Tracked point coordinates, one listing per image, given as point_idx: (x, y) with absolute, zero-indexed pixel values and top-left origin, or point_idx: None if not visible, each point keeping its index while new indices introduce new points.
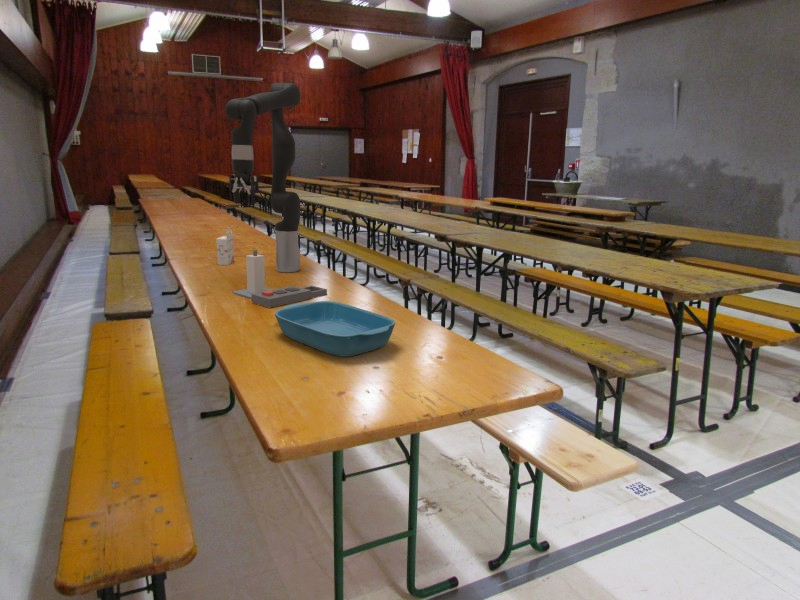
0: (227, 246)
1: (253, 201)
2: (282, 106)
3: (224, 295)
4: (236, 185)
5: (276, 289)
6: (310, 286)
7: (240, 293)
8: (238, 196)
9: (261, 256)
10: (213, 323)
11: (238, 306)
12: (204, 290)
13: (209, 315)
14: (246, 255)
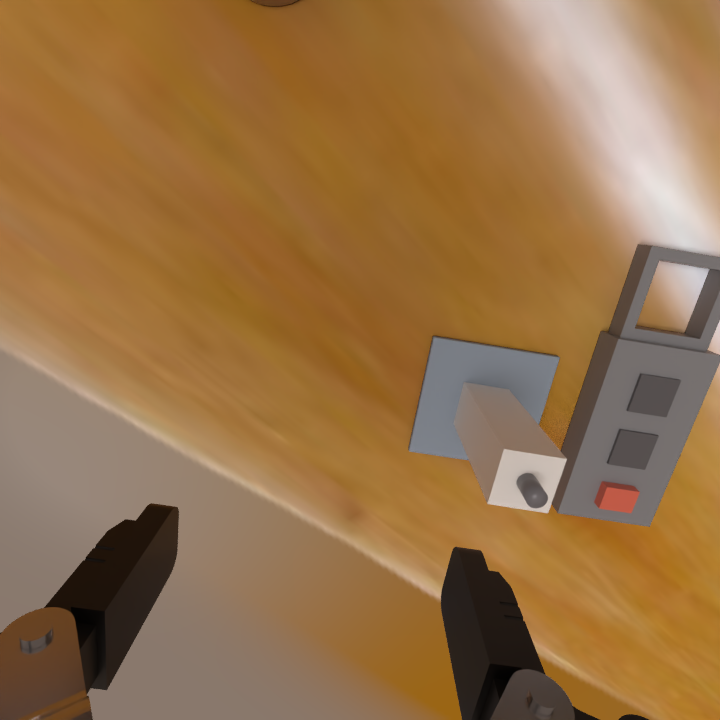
0: None
1: (501, 607)
2: None
3: (408, 479)
4: None
5: (593, 421)
6: (656, 265)
7: (450, 453)
8: (136, 593)
9: (561, 474)
10: (586, 663)
11: (537, 540)
12: (304, 471)
13: (531, 630)
14: (488, 502)
